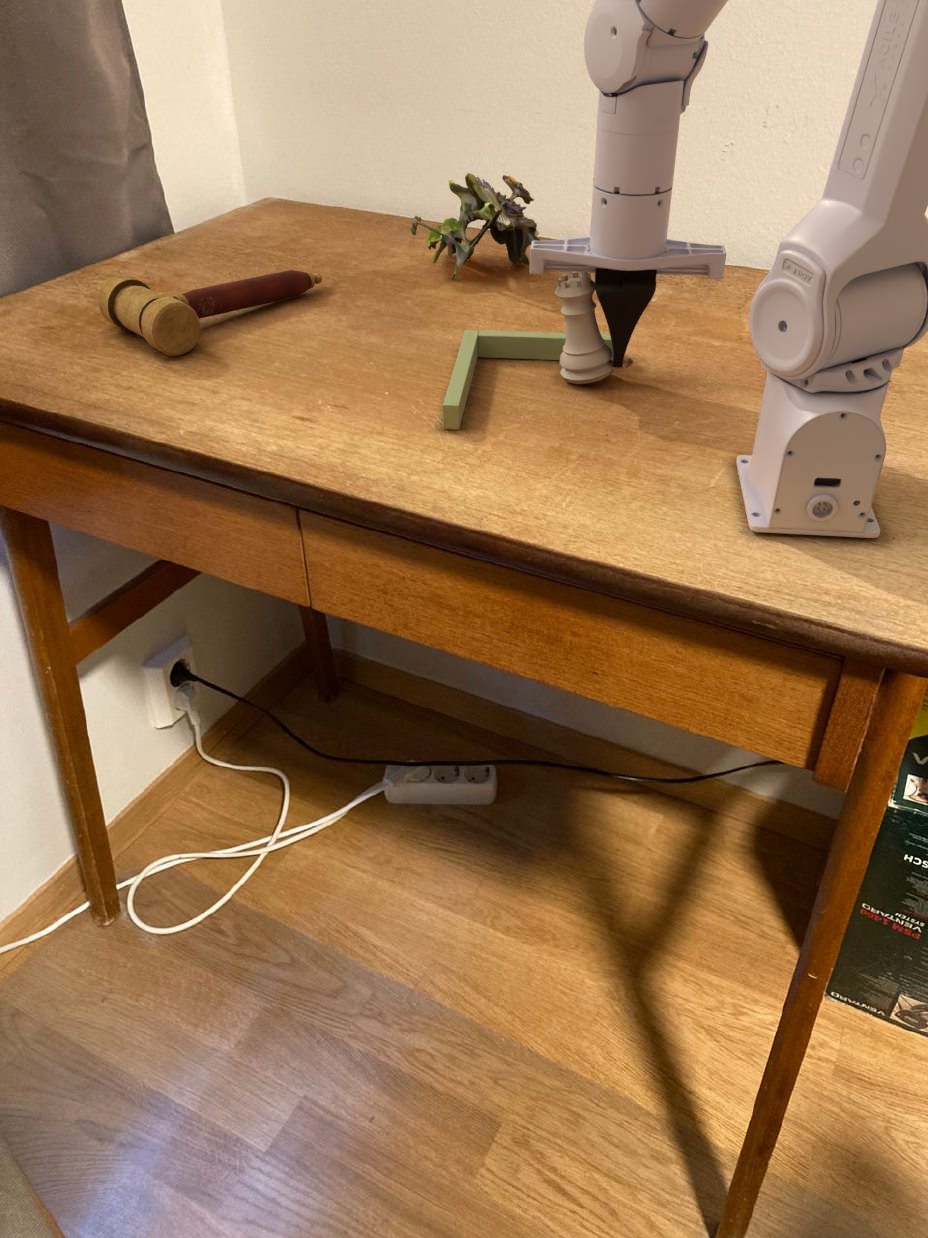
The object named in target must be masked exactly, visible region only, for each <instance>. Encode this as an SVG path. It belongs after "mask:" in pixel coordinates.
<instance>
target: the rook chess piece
mask: <svg viewBox="0 0 928 1238" xmlns="http://www.w3.org/2000/svg"><path fill="white" fill-rule="evenodd" d="M580 273H581V276H579V272H571V277H570V278H569V275H568V273H564V274H562V275H560V277H559V278H557V284H558V286H557V288H555V292H554V294H555V296H556V297H557V298H558V299H559V300H560V301H561V303H562V307H561V309H560V313H561V314H562V315H563V318H564V325H565V326H564V328H565V332H564V333H565V334H566V341H565V345H564V346H563V352H562V354H561V356H560V360H559V365H560V366H561V367H562V368H560V373H559V375H561V377H563V378H564V380H566V381H567V382H568V383H571V384H573V385H574V384H575V385H586V384H593V383H595V382H598V381H601V380H604V379H605V378H607V377H608V376H610V374H611V373H612V371H613V369H615V367H613V360H612V359H611V357H612V350H611V348H610V347H609V346H608V345H606V344H605V340H604V339H603V338H602V336H601V334H602V333H601V331H600V329H599V324H598V322H597V318H596V311H595V310H596V307H597V303H596V302H595V301H594V299H593V295H594V293H595V292H596V291H595V280H593V279H592V277H591V273H590V272H580Z"/></svg>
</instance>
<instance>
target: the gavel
mask: <svg viewBox="0 0 928 1238" xmlns="http://www.w3.org/2000/svg"><path fill="white" fill-rule="evenodd" d="M322 282H323V275H322V274H321V273H318V272H316V273H311V272H310V271H301V270H296V269H289V270H284V271H279V272H274V273H269V274H263V275H259V276H254V277H248V278H245V279H239V280H233V281H229V282H225V283H220V284H215V285H209V286H206V287H200V288H195V289H191V290H189V291H186V292H184V293H181V294H177V295H174V296H163V295H162V294H160V293H157V292H155V291H153V290H151V288H150V287H149V286H148V285H147V284H146V283H145V282H144V281H142V280H139V279H137V278H136V277H134V276H131V275H128V274H116V275H113V276H111V277H110V278H108V279H107V280H106V281H105V282H104V283H103V284H102V286H101V288H100V290H99V293H98V299H97V300H98V308H99V311H100V312H101V315H102V317H103V318H104V319H105V320H106V321H107V322H109V323H110V324H112V325H113V326H115V327H117V328H119V329H121V330H124V331H126V332H133V333H135V334H137V335H138V336H140V337H142V338H144V339H145V341H146V343H147V344H148V345H150V346H151V347H152V348H154V349H156V350H157V351H159V352H161V353H163V354H165V355H166V356H169V357H178V356H182V355H185V354H187V353H188V352H190V351H191V350H192V349H193V348H194V346H196V344H197V342H198V340H199V337H200V334H201V321H200V319H204V318H210V317H214V316H219V315H222V314H227V313H231V312H236V311H240V310H245V309H250V308H254V307H259V306H263V305H267V304H272V303H276V302H281V301H285V300H289V299H294V298H295V299H296V298H298V297H299V298H300V296H302V295H303V294H305V293H306V292H307V291H309V290H311V289H313V288H314V287H315V286H316V285H319V284H321V283H322Z"/></svg>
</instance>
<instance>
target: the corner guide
mask: <svg viewBox="0 0 928 1238" xmlns="http://www.w3.org/2000/svg"><path fill="white" fill-rule="evenodd" d="M600 334H601V336H602V338H603V339H604V340H605V344H606V345H608V346H609V347H610V348H611V350H612V357H611V359H612V360H613V347H612V341H611V336H610V333H609V334H608V333H600ZM565 341H566V334H565V332H547V331H546V332H545V331H517V330H486V329H480V330H479V329H465V330H464V333H463V336H462V340H461V342H460V346H459V350H458V352H457V355H456V360H455V363H454V366H453V370H452V372H451V377H450V380H449V383H448V386H447V390H446V393H445V396H444V399H443V403H442V421H443V423H442V426H443V430H455V431H456V430H460V427H461V423H462V420H463V415H464V412H465V409H466V404H467V400H468V396H469V393H470V389H471V385H472V381H473V377H474V373H475V370H476V366H477V361H478V358H483V359H485V358H489V359H516V360H541V361H542V360H543V361H560V356H561V354H562V352H563V346H564V345H565Z"/></svg>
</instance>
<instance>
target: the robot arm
mask: <svg viewBox="0 0 928 1238" xmlns="http://www.w3.org/2000/svg"><path fill="white" fill-rule="evenodd" d="M728 2H729V0H594V3H593V6H592V9H591V11H590V13H589V15H588V18H587V21H586V25H585V29H584V36H583V37H584V38H583V53H584V54H583V55H584V61H585V62H584V63H585V66H586V70H587V72H588V75H589V78H590V80H591V81H592V83H593V85H594V86H595V87H596V88H597V89H598V99H597V101H598V102H597V115H596V117H597V118H596V132H595V146H594V147H595V150H594V164H593V179H592V196H591V197H592V198H591V200H592V201H591V214H590V230H589V231H590V232H589V236H588V237H586V236H585V237H577V238H576V237H575V238H566V239H565V238H564V239H551V240H541V241H532V243H531V245H530V247H529V262H530V264H529V275H544V273H545V272H556V273H557V272H559V273H560V272H561V273H572V272H578V273H581V272H588V273H590V274H591V273H594V282H595V291H594V292H595V294H596V297H597V300H598V303H599V304H600V307H601V309H602V312H603V315H604V317H605V322H606V324H607V327H608V331H609V332H608V333H609V334H610V336H611V341H612V347H613V367H614V369H615V368H616V369H617V368H618V369H621V368H622V369H623V364H624V359H625V355H626V351H627V349H628V346H629V343H630V340H631V337H632V336H633V333H634V331H635V329H636V326H637V325H638V323H639V321H640V319H641V318H642V315H643V313H644V312H645V310H646V309H647V307H648V306H649V304H650V303H651V301H652V300H653V297H654V295H655V293H656V290H657V275H664V276H665V275H666V276H667V275H669V276H700V277H702V276H704V277H707V278H708V279H710V280H723V279H724V274H725V268H726V267H725V266H726V260H727V251H726V247H725V245H723V244H722V245H721V244H707V243H705V244H704V243H698V242H690V241H682V240H676V239H670V238H669V239H668V232H669V221H670V213H671V202H672V194H673V186H674V176H675V166H676V157H677V149H678V142H679V141H678V140H679V130H680V120H681V115H682V114H683V113H685V112H686V111H687V110H686V109H687V107H689V105H690V98H691V90H692V86H693V84H694V81H695V79H696V78H697V76H698V75H699V74H700V71H701V69H702V68H703V65H704V64H705V60H706V57H707V54H708V48H709V41H708V40H706V39H705V38H706V37H705V35H706V32H707V30H709V28H710V26H711V25H712V23H713V22H714V21H715V19H716V18H717V17H718V15H719V14H720V13H721V12H722V10H723V9H724V7H725V6H726V5H727V3H728ZM847 105H848V106H847V109H846V112H845V115H844V118H843V122H842V126H841V129H840V134H839V136H838V140H837V144H836V147H835V151H834V154H833V158H832V162H831V165H830V169H829V171H828V176H827V179H826V183H825V186H824V190H823V193H822V196H821V199H820V200H819V201H818V203H816V204H815V206H813V208H812V209H810V211H809V212H808V213H807V214H805V216H804V217H803V218H801V220H799V222H798V223H796V224H795V225H794V226H793V227H792V228H791V230H790V231H788V233H787V234H786V235H785V236H784V237H782V239H781V241H780V242H779V245H778V248H777V252H776V254H775V255H776V256H775V259H774V262H773V264H772V267H771V269H770V270H769V272H768V273H767V275H766V276H765V277H764V279H763V280H762V281H761V282H760V284H759V285H758V287H757V288H756V290H755V291H754V293H753V296H752V299H751V303H750V307H749V314H748V316H749V317H748V327H749V336H750V339H751V342H752V346H753V349H754V351H755V354H756V355H757V357H758V359H759V361H760V367H761V368H762V369H763V370H765V371H767V373H766V378H765V384H764V389H763V393H762V400H761V404H760V405H761V406H760V409H759V410H760V411H759V416H758V421H757V426H756V432H755V438H754V443H753V448H752V454H739V455H738V456H736V458H735V459H736V460H735V464H736V469H737V473H738V479H739V480H738V481H739V483H740V485H739V486H740V488H741V494H742V499H743V505H744V509H745V514H746V518H747V524H748V528H749V529H750V530H751V532H755V533H768V534H769V533H770V534H786V535H803V536H805V535H806V536H824V537H825V536H826V537H828V536H829V537H843V538H844V537H845V538H864V539H865V538H866V539H876V538H879V537H880V534H881V527H880V525H879V523H878V520H877V518H876V515H875V512H874V510H873V507H872V506H873V502H874V498H875V494H876V491H877V489H878V488H877V487H878V484H879V480H880V478H881V477H880V476H881V473H882V470H883V466H884V463H885V460H886V459H885V458H886V454H887V439H886V433H885V431H884V428H883V427H884V426H883V424H882V418H881V417H882V412H883V408H884V404H885V401H886V397H887V393H888V390H889V386H890V382H891V378H892V374H893V371H894V370H895V369H897V368H900V366H901V362H902V358H903V355H904V352H905V349H907V348H910V347H912V346H913V345H915V344H916V343H918V342H919V341H921V339H922V338H923V337H924V336H925V335H926V334H927V333H928V217H927V216H926V212H927V209H928V0H877V2H876V6H875V10H874V13H873V16H872V20H871V24H870V26H869V30H868V34H867V38H866V41H865V45H864V48H863V51H862V55H861V59H860V61H859V66H858V69H857V74H856V77H855V80H854V84H853V87H852V91H851V94H850V98H849V101H848V104H847Z"/></svg>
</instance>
